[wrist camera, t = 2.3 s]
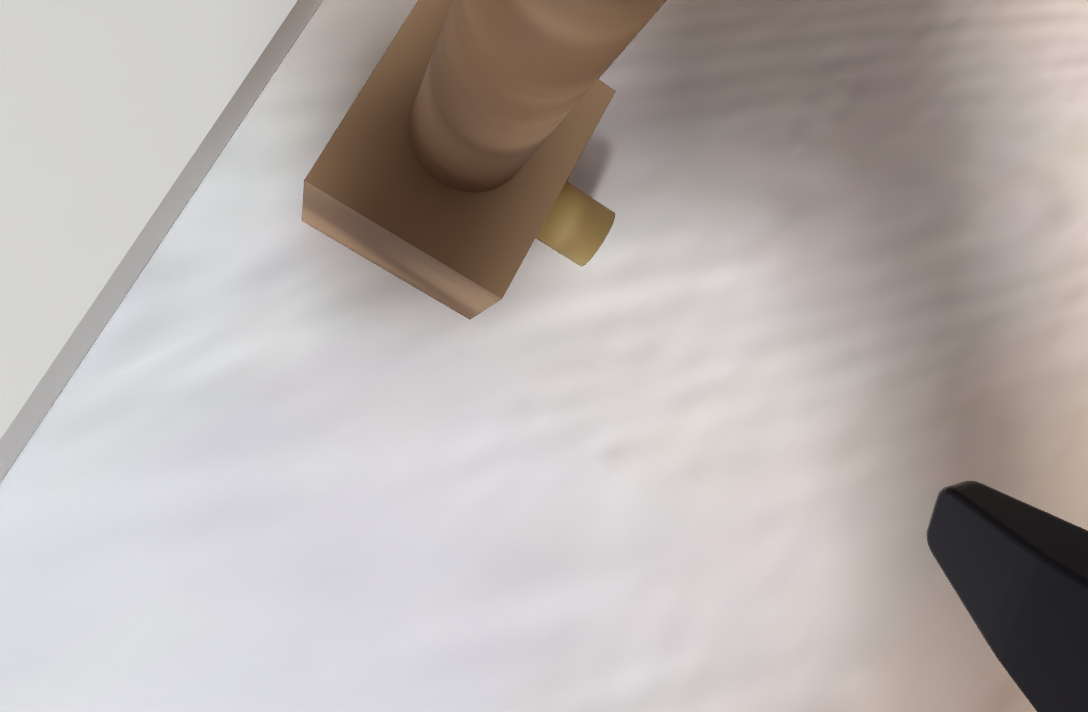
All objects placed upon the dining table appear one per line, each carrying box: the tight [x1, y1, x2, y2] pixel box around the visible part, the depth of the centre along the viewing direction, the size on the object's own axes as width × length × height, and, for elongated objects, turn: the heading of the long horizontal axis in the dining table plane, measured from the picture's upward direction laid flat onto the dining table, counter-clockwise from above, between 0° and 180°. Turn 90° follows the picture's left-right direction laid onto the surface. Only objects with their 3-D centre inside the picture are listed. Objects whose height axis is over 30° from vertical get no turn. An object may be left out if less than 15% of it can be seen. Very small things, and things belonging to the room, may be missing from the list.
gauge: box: [302, 0, 666, 319], centre depth 16 cm, size 7×6×13 cm
